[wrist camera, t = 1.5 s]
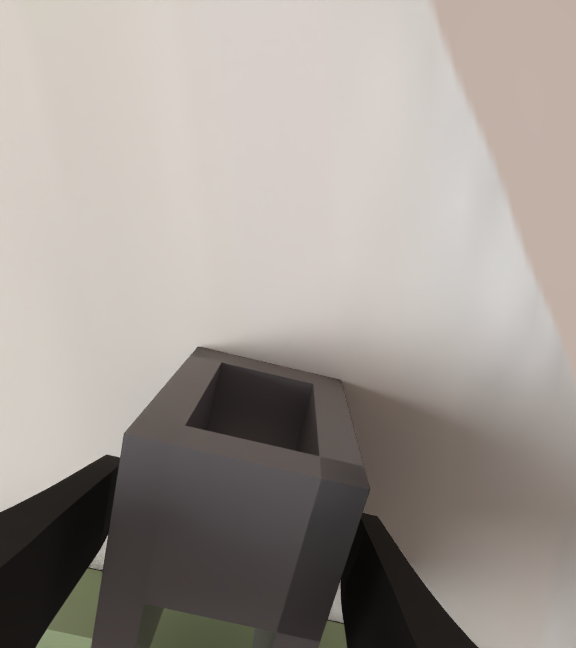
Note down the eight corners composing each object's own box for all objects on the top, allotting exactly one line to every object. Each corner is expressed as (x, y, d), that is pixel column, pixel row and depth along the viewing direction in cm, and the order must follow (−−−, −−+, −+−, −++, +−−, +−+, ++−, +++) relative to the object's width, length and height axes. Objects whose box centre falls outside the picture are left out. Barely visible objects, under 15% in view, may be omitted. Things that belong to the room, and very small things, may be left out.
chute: (161, 538, 16) (79, 724, 10) (198, 346, 14) (124, 433, 8) (287, 567, 16) (279, 765, 10) (340, 379, 14) (370, 489, 8)
